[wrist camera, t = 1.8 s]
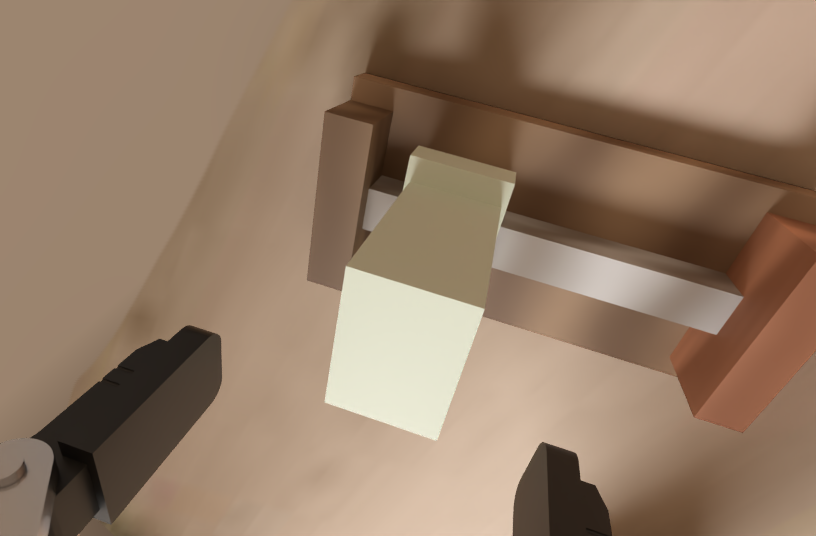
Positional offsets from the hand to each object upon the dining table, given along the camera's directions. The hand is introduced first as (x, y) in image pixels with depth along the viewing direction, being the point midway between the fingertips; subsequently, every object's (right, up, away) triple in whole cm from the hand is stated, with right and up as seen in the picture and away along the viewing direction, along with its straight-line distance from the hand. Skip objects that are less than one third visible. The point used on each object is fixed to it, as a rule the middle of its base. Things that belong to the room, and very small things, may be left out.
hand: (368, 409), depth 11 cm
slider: (+3, +6, +10) cm, 12 cm away
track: (+7, +5, +12) cm, 15 cm away
